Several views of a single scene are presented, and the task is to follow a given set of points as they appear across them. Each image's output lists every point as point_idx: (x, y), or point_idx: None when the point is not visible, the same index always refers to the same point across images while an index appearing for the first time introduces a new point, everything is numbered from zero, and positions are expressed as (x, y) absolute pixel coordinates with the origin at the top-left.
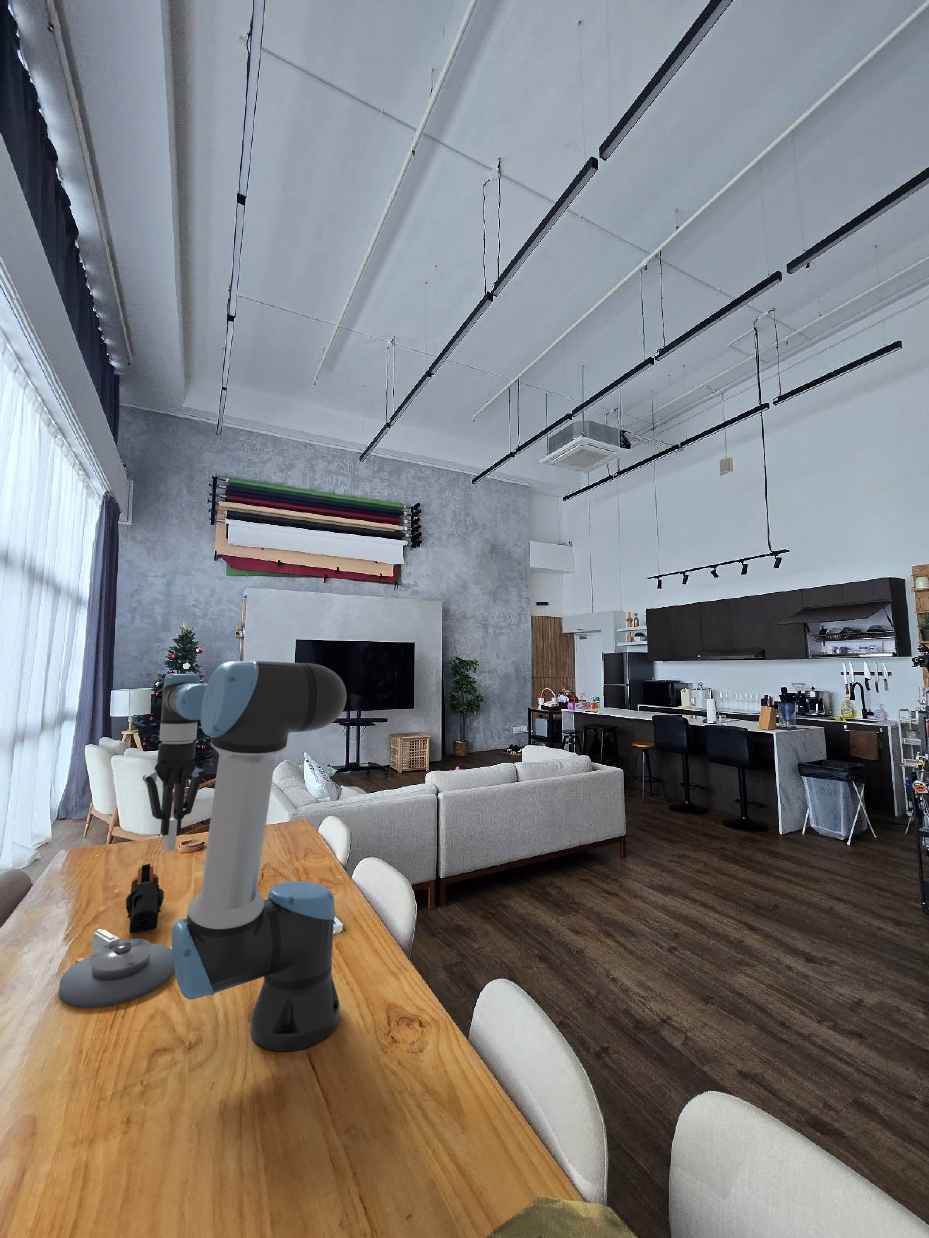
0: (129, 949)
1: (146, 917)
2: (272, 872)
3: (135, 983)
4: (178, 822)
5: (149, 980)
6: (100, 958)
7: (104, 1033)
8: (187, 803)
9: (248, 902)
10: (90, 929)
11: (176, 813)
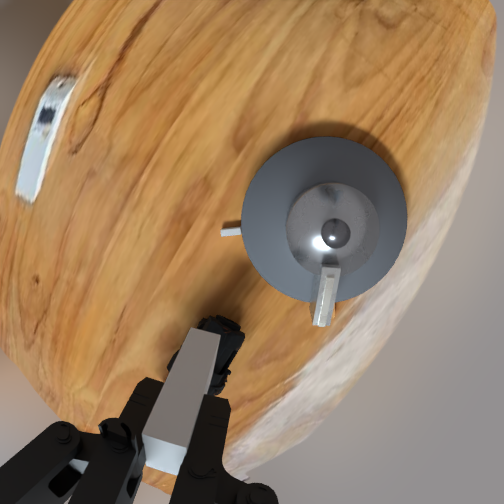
0: (330, 219)
1: (225, 324)
2: (26, 324)
3: (346, 154)
4: (137, 419)
5: (329, 141)
6: (370, 236)
7: (409, 107)
8: (50, 480)
9: None
10: (258, 387)
11: (130, 470)
